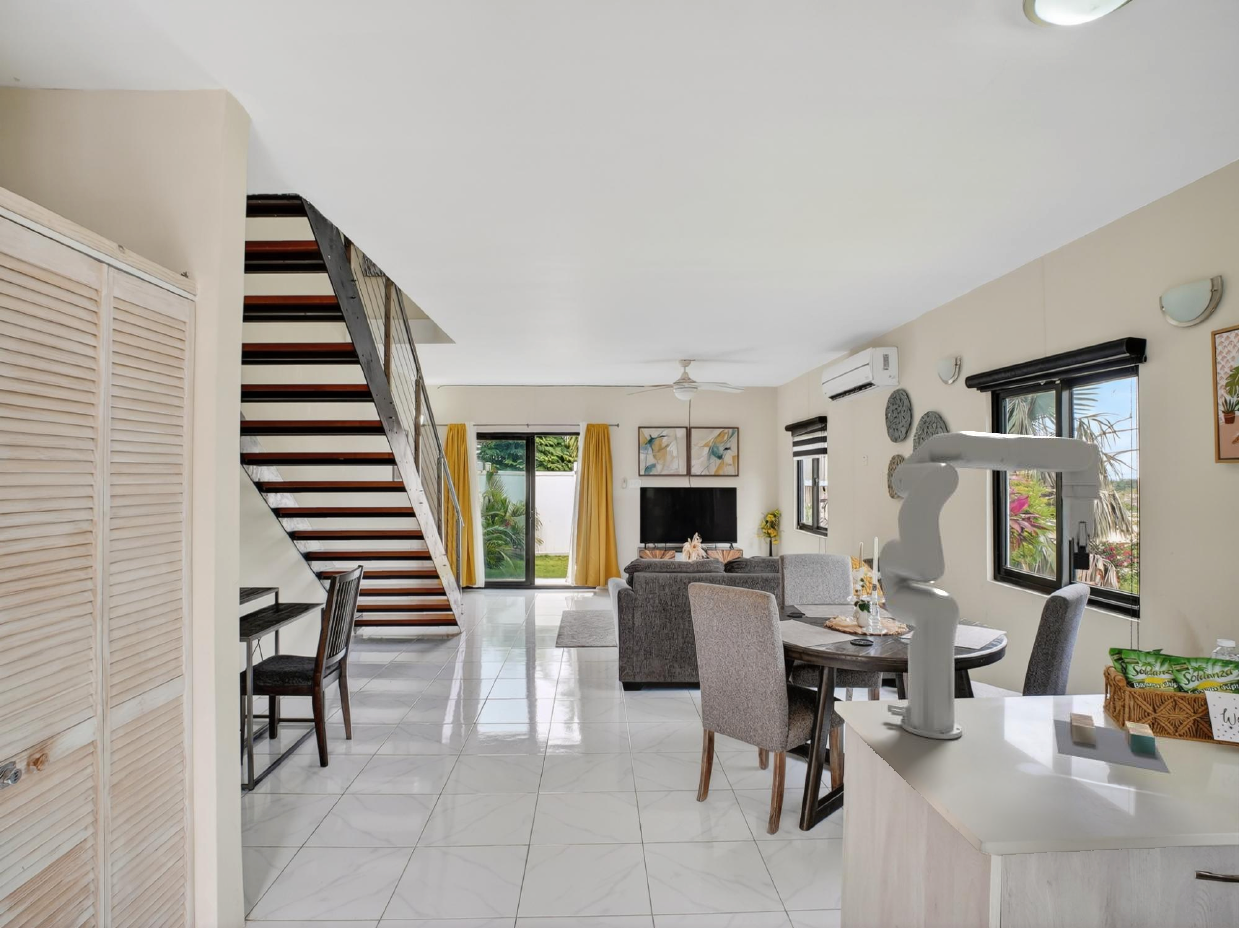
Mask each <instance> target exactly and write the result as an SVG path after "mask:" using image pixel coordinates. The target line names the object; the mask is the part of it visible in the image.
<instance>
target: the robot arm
mask: <svg viewBox="0 0 1239 928" xmlns="http://www.w3.org/2000/svg"><path fill="white" fill-rule="evenodd" d="M1100 464H1101V463H1100V447H1099V445H1098V444H1097V443H1095V442H1087V441H1086V440H1084V439H1082V438H1070V437H1058V436H1057V437H1056V436H1037V435H1035V436H1033V435H1022V434H1003V433H1002V434H1001V433H992V432H991V433H987V432H980V431H979V432H978V431H955V432H953V431H952V432H945V433H937V434H934V435H932V436H931V437H929V438H928V439H926V440H925V441H924V442H923V443H922V444H921V445H919V446H918V447H917V448H916V449H915V450H914V451H913V452H912V453H911V454H909V456H907V458H905V459H904V460H903V461H902V462H901V463H899V465H898V466H897V467H896V469H895V470H894V472H893V474H892V475H891V476H892V477H891V486H892V489H893V492H895V493H896V495H898V496H899V497H901V498H904V500H903V502H902V504H901V506H900V509H899V511H898V516H897V526H898V527H897V528H898V534H899V535H898V536H899V537H898V538H897V537H896V538H892V539H890V540H888V541H887V542H885V544H883V546H882V548H881V549H880V552H879V558H878V568H879V575H880V580H881V586H882V587H881V588H882V592H883V593H882V594H883V600H884V604H885V607H886V610H887V611H888V613H889V615H890V616H891V617H892V618H893V619H895V620H896V621H898V622H900V623H903V624H906V625H908V626H909V625H910V626H913V627H914V629H913V632H912V634H911V637H910V639H909V641H908V646H907V658H908V659H907V669H908V670H907V672H908V673H907V703H906V704H902V705H899V704H898V705H897V704H894V703H887V713H890V714H891V715H892V716H899V717H902V718H901V719H900V727H901V728H902V729H904V730H905V731H906V732H909V733H910V734H913V735H917V736H921V737H926V738H929V739H939V740H950V739H951V740H952V739H957V738H960V737H961V736H962V735H963V727H962V726H960V724H958V723H957V722H955V645H956V644H955V642H956V634H957V629H958V625H959V621H960V608H959V604H958V602H957V600H956V598H954V597H953V596H952V595H951V594H950V593H948V592H946V591H944V590H941V589H939V588H936V587H935V588H934V587H930V586H926V585H920V584H919V583H923V584H933V583H936V582H938V581H940V580H942V578H943V576H944V574H945V569H946V567H945V566H946V564H945V563H946V562H945V556H944V551H943V544H942V537H941V532H940V530H941V529H940V515H941V512H942V510H943V508H944V506H945V504H946V502H947V501H948V500H949V499H950V498H952V495H954V493H955V492H956V490H957V489H958V486H959V481H960V480H959V479H960V478H959V473H958V470H957V469H974V470H975V469H976V470H988V471H1002V472H1003V471H1005V472H1006V471H1007V472H1009V471H1010V472H1015V471H1016V472H1021V471H1022V472H1023V471H1034V470H1036V471H1038V472H1042V473H1060V472H1061V473H1062V475H1061V477H1062V478H1061V479H1062V481H1061V482H1062V484H1061V485H1062V488H1061V491H1062V493H1061V494H1062V500H1067V504H1066V505H1067V506H1066V538H1067V539H1068V540H1069V541H1072V538H1073V553H1072V555H1073V556H1072V559H1073V560H1072V565H1073V567H1072V568H1073V569H1074V570H1079V571H1080V570H1081V571H1089V570H1090V568H1091V567H1090V566H1091V562H1090V560H1091V559H1090V558H1091V557H1090V556H1091V555H1090V552H1089V551H1090V547H1089V546H1090V545H1089V543H1090V542H1089V541H1092V540H1093V539H1094V538H1093V537H1094V524H1095V523H1094V522H1095V500H1096V501H1100V500H1101V495H1100V494H1101V493H1100V492H1101V485H1100V484H1101V483H1100V480H1101V479H1100V476H1101V475H1100V474H1101V473H1100Z"/></svg>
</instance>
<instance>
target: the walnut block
mask: <svg viewBox="0 0 1239 928" xmlns="http://www.w3.org/2000/svg"><path fill="white" fill-rule="evenodd" d="M1069 713H1070V714H1069V717H1070V720H1069V722H1070V730H1071V735H1072V740H1073V741H1077V742H1083V743H1088V744H1094V745H1095V726H1096V725H1095V722H1094V719H1093V715H1087V714H1080V713H1074V712H1069Z"/></svg>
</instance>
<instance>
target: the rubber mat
mask: <svg viewBox="0 0 1239 928" xmlns="http://www.w3.org/2000/svg"><path fill="white" fill-rule="evenodd" d="M1053 726H1054V733H1055V739H1056V740H1055V741H1056V747H1057V753H1058V754H1062V755H1068V756H1071V757H1072V756H1073V757H1078V758H1083V759H1089V760H1095V761H1100V762H1107V763H1112V764H1117V765H1121V766H1122V765H1123V766H1128V767H1134V768H1138V769H1143V770H1150V771H1156V772H1161V773H1167V774H1171V772H1170V770H1169V768H1168V766H1167V764H1166V762H1165V761H1164V759H1163V757H1162V755H1161V753H1160V751H1159V749H1158V747H1157V745H1156V744H1155V755H1153V754H1147V753H1141V752H1135V751H1131V750H1130V748H1129V745H1128V743H1127V741H1126V738H1125V730H1123V729H1118V728H1110V727H1105V726H1099V725H1098V726H1097V725H1095V745H1094V744H1088V743H1083V742H1077V741H1073V740H1072V735H1071V730H1070V721H1066V720H1060V719H1055V718H1054V719H1053Z"/></svg>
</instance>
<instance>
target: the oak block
mask: <svg viewBox="0 0 1239 928" xmlns="http://www.w3.org/2000/svg"><path fill="white" fill-rule="evenodd" d="M1124 729H1125V730H1124V731H1125V738H1126V741H1127V743H1128V745H1129V748H1130V750H1131V751H1135V752H1141V753H1147V754H1153V755H1155V745H1156V737H1155V735H1154V733H1153V731H1152V729H1151V728H1150V726H1149V724H1148V723H1147V724H1146V723H1139V722H1134V721H1133V722H1132V721H1127V720H1124Z"/></svg>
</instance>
